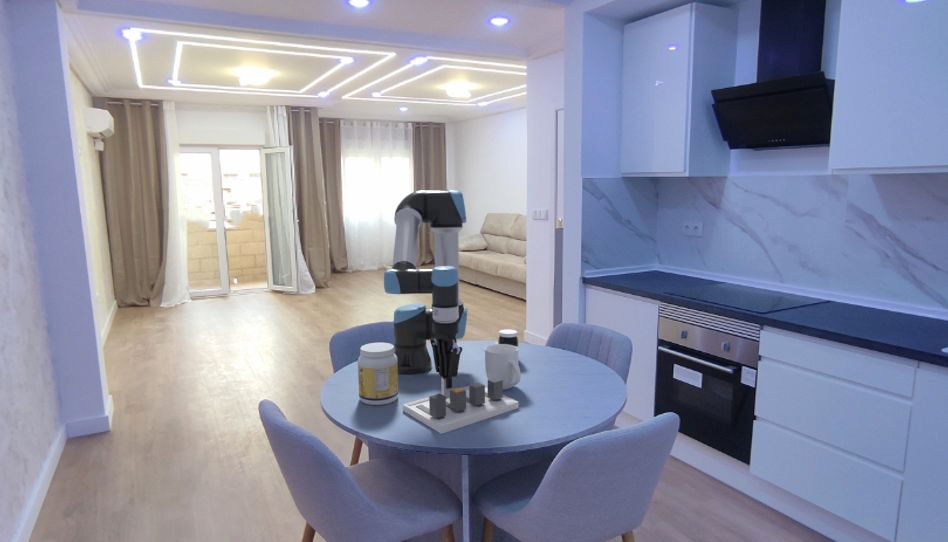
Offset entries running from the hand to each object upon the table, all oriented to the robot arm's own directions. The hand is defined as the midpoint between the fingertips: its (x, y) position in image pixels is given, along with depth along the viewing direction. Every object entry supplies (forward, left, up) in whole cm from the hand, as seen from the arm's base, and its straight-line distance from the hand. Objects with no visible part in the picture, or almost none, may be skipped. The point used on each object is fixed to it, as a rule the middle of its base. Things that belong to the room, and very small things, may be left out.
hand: (446, 397), depth 162 cm
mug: (-4, +26, -4) cm, 26 cm away
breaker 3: (+6, +7, -2) cm, 9 cm away
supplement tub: (-21, -11, -4) cm, 24 cm away
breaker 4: (+6, +14, -2) cm, 15 cm away
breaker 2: (+6, 0, -2) cm, 6 cm away
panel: (+2, +4, -4) cm, 6 cm away
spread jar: (-26, +45, -4) cm, 52 cm away
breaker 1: (+6, -7, -2) cm, 10 cm away
